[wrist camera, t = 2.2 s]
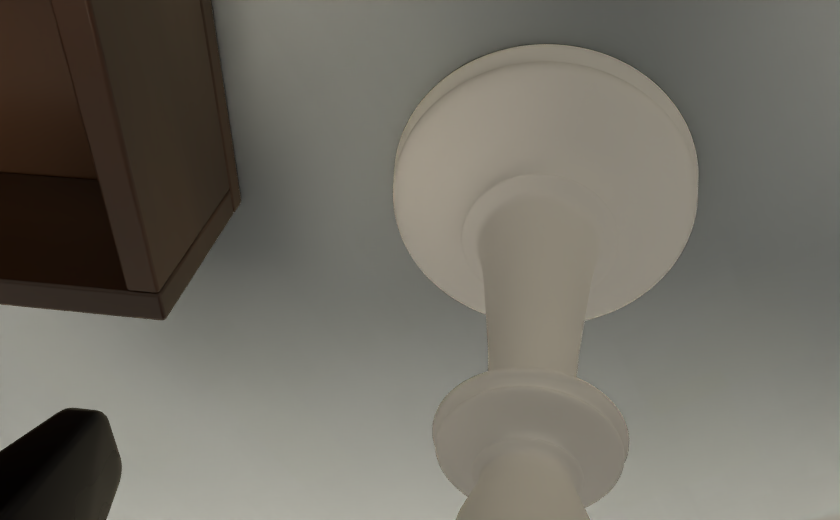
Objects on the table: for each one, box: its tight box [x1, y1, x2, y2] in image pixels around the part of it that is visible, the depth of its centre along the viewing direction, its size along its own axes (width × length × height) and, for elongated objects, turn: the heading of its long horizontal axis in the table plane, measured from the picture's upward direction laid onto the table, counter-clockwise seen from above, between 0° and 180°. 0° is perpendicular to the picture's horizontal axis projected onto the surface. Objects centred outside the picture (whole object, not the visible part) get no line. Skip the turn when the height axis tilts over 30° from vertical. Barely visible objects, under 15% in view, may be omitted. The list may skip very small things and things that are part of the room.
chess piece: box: [393, 44, 699, 520], centre depth 9 cm, size 5×5×10 cm
